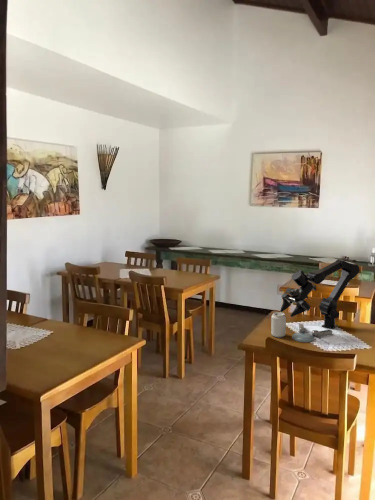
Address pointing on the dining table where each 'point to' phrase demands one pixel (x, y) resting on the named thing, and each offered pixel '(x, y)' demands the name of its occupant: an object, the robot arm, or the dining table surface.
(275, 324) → the can
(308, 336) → the pad
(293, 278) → the robot arm
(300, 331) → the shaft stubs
